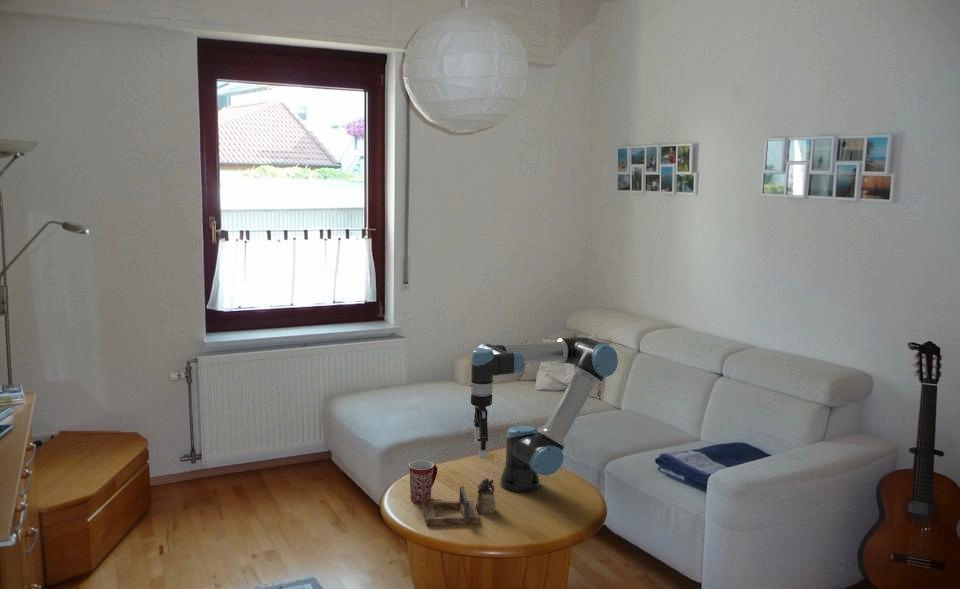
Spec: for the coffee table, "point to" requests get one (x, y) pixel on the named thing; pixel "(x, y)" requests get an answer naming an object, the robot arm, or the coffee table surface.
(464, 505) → the wooden stand
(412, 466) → the mug
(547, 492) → the coffee table surface
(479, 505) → the figurine
